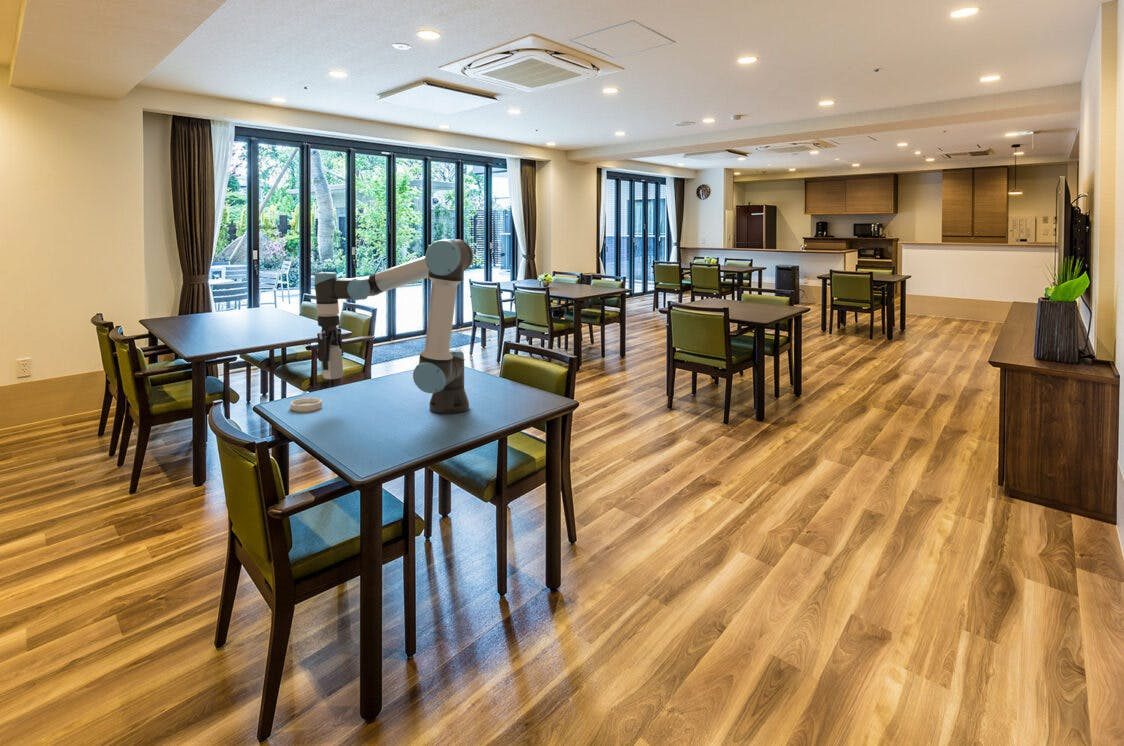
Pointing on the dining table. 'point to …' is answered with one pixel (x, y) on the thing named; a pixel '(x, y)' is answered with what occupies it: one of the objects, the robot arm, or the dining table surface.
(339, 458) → the dining table surface
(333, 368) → the can
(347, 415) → the dining table surface
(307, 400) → the bowl
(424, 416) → the dining table surface
